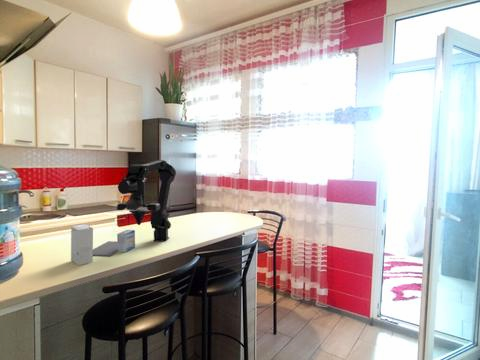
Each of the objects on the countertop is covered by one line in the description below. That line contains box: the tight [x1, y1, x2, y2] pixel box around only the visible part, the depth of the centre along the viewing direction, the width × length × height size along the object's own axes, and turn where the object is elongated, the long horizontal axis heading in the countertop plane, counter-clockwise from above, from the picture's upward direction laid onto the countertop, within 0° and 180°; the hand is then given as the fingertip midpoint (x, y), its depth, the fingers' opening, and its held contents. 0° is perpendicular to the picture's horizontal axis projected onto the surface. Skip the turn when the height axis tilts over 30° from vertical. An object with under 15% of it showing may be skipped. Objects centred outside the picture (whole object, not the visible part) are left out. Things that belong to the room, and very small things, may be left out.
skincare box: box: [70, 224, 94, 266], centre depth 118 cm, size 8×6×15 cm
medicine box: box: [116, 229, 136, 253], centre depth 134 cm, size 8×4×9 cm, turn 170°
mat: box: [93, 240, 119, 257], centre depth 135 cm, size 12×20×1 cm, turn 175°
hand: (139, 224), depth 133 cm, fingers closed
